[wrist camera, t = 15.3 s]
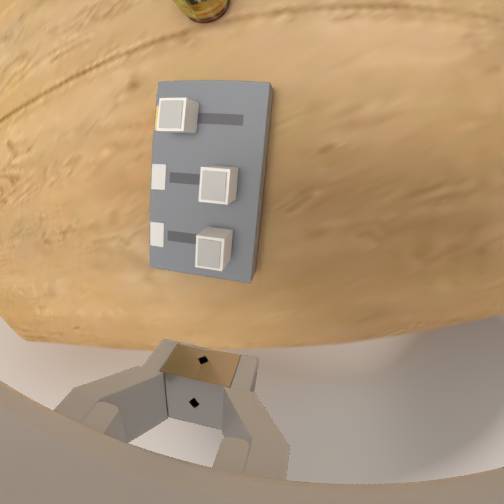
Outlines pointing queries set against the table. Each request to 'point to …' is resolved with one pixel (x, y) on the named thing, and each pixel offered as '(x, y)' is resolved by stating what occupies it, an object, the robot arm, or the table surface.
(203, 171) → the knob
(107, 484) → the robot arm
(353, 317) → the table surface
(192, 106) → the knob
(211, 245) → the knob
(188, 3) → the sauce bottle
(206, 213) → the console
